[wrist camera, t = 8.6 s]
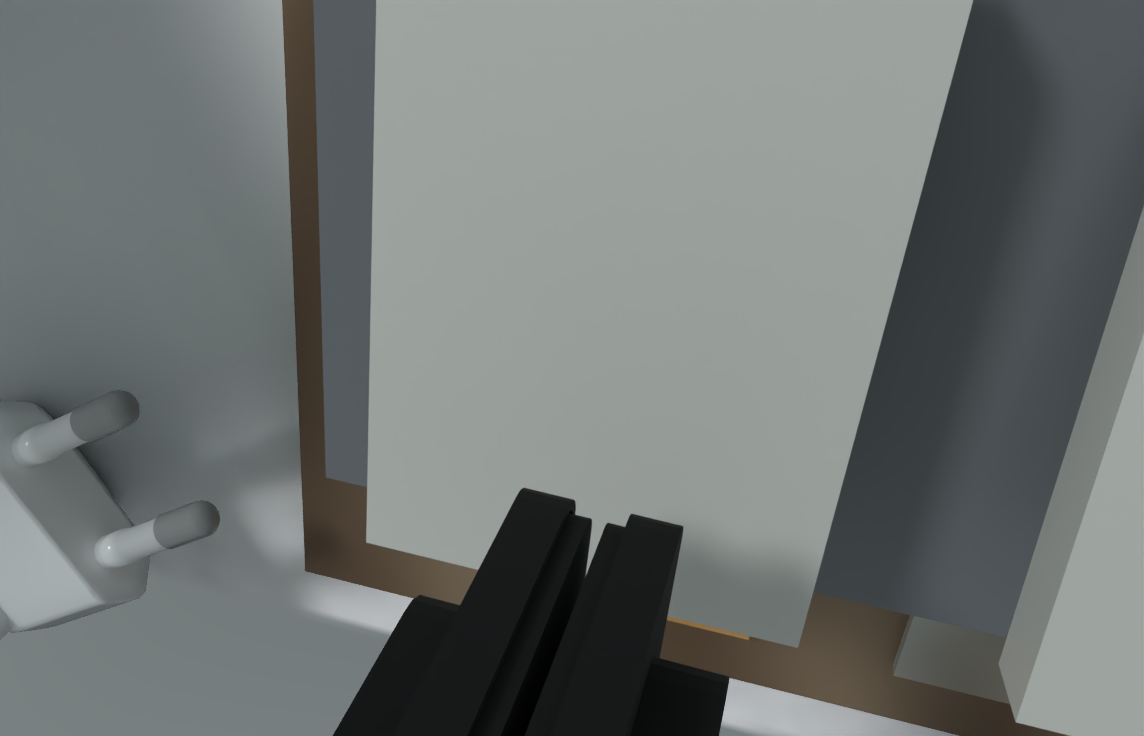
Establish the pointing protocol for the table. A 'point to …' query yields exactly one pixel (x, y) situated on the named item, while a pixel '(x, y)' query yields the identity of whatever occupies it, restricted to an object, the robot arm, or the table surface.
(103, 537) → the power adapter
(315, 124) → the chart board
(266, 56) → the table surface
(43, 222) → the table surface
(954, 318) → the switch housing
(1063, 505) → the rocker
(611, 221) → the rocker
